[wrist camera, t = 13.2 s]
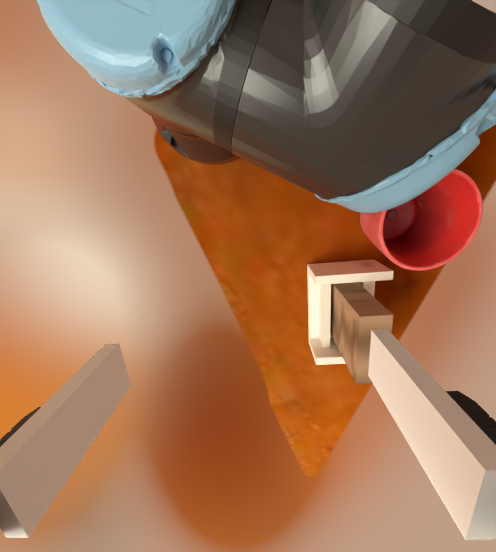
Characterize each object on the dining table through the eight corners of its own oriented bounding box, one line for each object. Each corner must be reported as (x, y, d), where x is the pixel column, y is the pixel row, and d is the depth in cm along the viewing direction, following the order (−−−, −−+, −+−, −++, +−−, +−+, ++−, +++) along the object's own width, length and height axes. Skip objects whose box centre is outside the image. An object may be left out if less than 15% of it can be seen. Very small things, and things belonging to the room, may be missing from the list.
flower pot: (443, 201, 35) (509, 204, 26) (389, 264, 38) (430, 287, 29) (384, 158, 34) (431, 144, 24) (333, 227, 37) (358, 239, 28)
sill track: (307, 264, 39) (315, 276, 33) (373, 259, 38) (393, 270, 32) (308, 342, 43) (316, 364, 37) (368, 339, 42) (385, 361, 37)
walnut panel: (351, 330, 41) (386, 383, 30) (329, 331, 41) (355, 384, 30) (353, 278, 38) (393, 314, 27) (329, 280, 38) (359, 316, 27)
